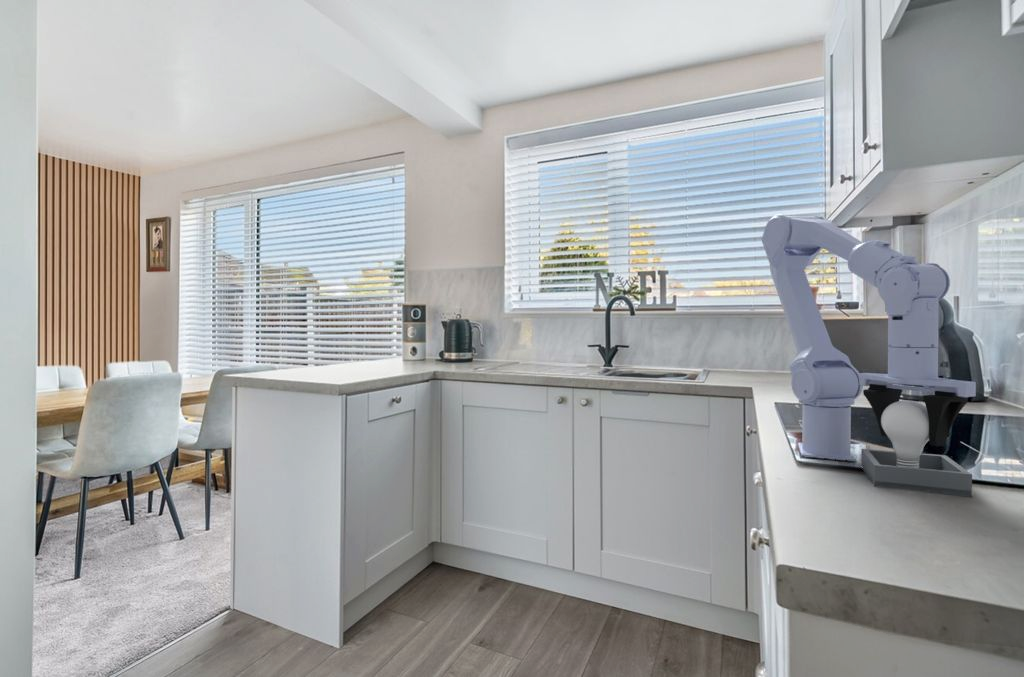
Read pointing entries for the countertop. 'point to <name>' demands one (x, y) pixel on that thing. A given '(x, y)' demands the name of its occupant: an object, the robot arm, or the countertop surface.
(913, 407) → the lightbulb
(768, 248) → the robot arm
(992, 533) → the countertop surface
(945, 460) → the tray
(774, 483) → the countertop surface
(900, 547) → the countertop surface
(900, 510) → the countertop surface
